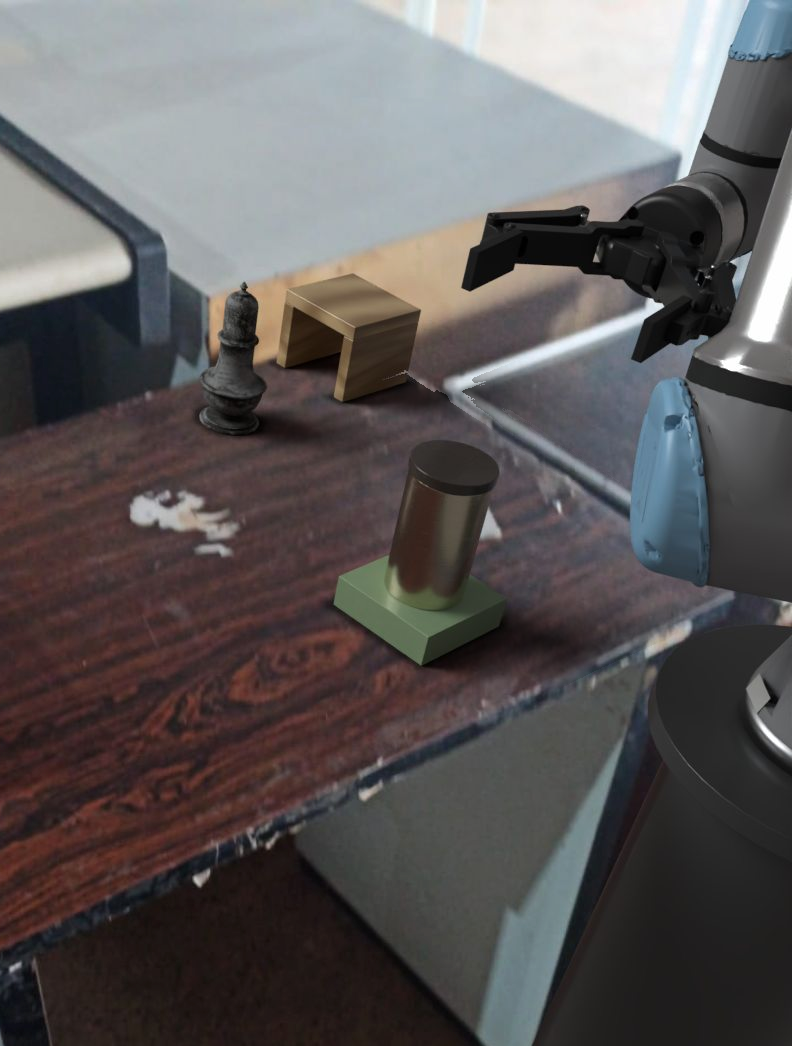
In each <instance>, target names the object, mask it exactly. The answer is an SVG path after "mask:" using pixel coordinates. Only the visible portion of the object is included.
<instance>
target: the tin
mask: <svg viewBox="0 0 792 1046" xmlns="http://www.w3.org/2000/svg"><path fill="white" fill-rule="evenodd" d="M407 466H408V470H407V474H406V480H405V483H404V488H403V492H402V497H401V501H400V506H399V510H398V514H397V520H396V524H395V528H394V532H393V537H392V540H391V546H390V551H389V554H388V555H389V559H388V563H387V568H386V572H385V577H384V584H385V587H386V589H387V590H388V592H389V593H390V594H391V595H392V596H393V597H395V598H396V599H397V600H399V601H401V602H402V603H404V604H407V605H409V606H412V607H415V608H419V609H424V610H446V609H449V608H452V607H454V606H456V605H458V604H459V603H460V602H461V601H462V599H463V596H464V593H465V589H466V586H467V582H468V578H469V575H471V571H472V567H473V563H474V560H475V557H476V553H477V549H478V546H479V542H480V539H481V535H482V531H483V528H484V525H485V520H486V518H487V517H486V516H487V514H488V510H489V506H490V502H491V499H492V496H493V492H494V488H495V487H496V485H497V483H498V479H499V476H500V466H499V464H498V463H497V461H496V460H495V459H494V458H493V457H492V456H491V455H489V453H487V452H486V451H484V450H481V449H480V448H478V447H475V446H473V445H470V444H467V443H464V442H460V441H455V440H448V439H433V440H426V441H423V442H421V443H418V444H416V445H415V446H414V447H413V448H412V449H411V451H410V455H409V459H408V465H407Z"/></svg>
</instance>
